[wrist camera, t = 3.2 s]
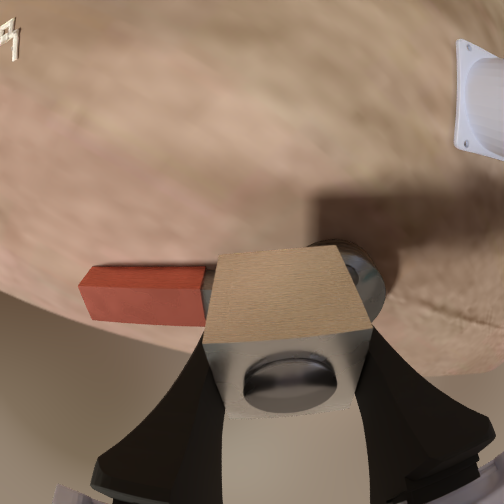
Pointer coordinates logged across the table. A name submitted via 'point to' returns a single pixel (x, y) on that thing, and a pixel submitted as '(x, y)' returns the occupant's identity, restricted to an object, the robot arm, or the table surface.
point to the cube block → (285, 332)
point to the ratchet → (196, 290)
